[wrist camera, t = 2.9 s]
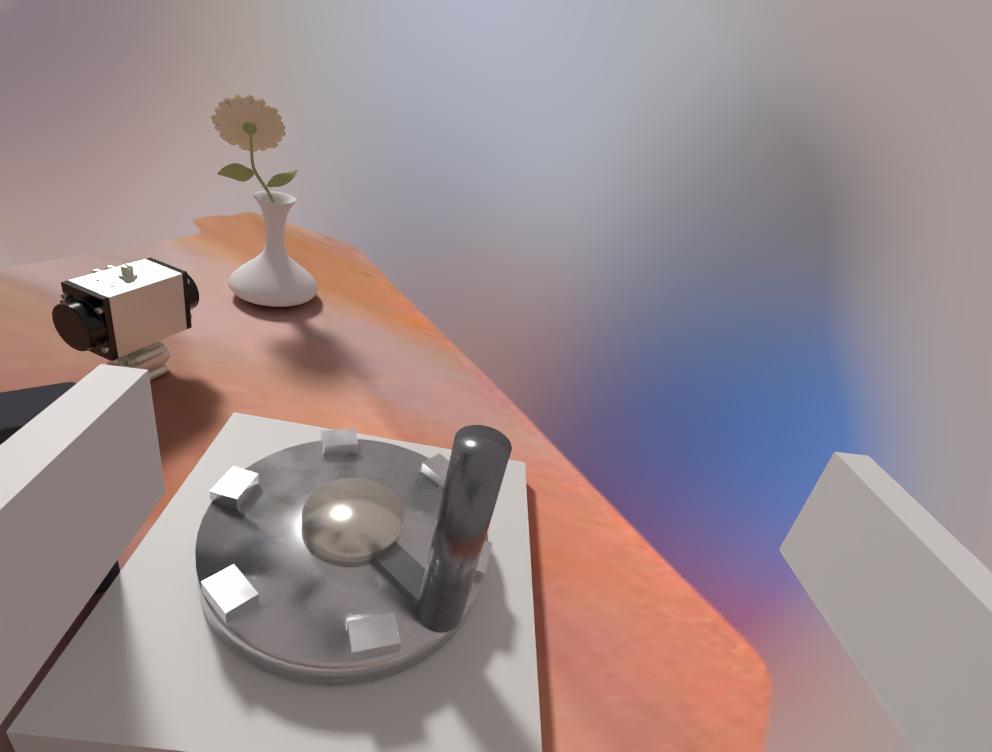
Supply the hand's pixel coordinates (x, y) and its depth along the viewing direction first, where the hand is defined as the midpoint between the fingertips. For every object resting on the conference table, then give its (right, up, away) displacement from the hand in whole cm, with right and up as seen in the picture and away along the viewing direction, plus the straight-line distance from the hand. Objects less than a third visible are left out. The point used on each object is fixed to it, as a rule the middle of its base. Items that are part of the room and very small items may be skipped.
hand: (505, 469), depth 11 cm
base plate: (-12, -13, +31) cm, 36 cm away
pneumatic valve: (-37, +2, +46) cm, 59 cm away
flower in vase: (-32, +13, +66) cm, 75 cm away
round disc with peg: (-11, -11, +30) cm, 34 cm away
